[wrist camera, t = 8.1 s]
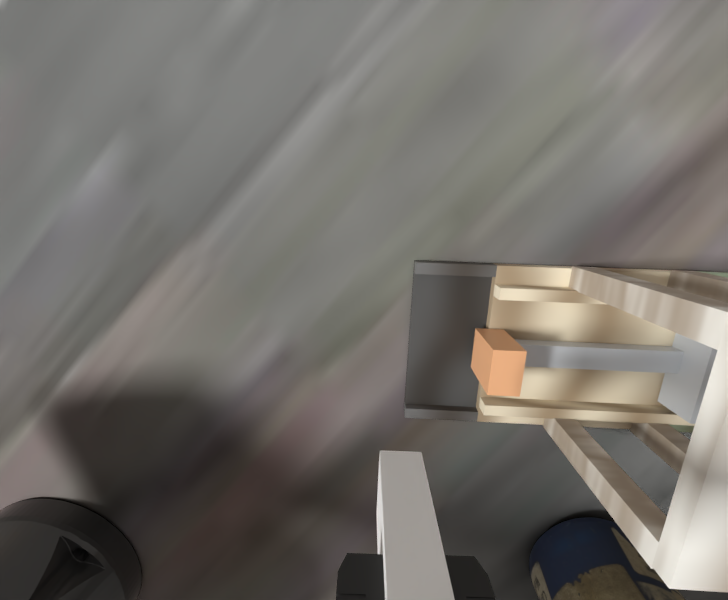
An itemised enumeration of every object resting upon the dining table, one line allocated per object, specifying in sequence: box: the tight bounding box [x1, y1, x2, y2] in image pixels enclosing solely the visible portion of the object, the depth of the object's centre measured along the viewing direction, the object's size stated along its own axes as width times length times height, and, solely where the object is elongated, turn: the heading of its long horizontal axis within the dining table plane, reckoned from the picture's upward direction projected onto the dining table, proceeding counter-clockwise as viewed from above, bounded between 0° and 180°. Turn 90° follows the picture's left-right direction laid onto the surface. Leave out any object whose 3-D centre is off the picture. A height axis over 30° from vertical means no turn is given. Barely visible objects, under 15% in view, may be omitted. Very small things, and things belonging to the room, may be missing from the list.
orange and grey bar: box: [471, 328, 717, 424], centre depth 23 cm, size 21×7×4 cm, turn 88°
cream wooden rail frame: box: [404, 260, 728, 592], centre depth 20 cm, size 26×12×13 cm, turn 88°
